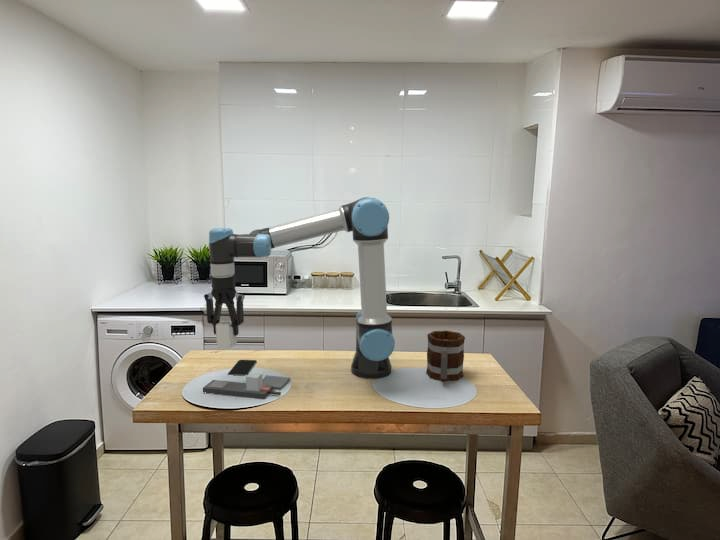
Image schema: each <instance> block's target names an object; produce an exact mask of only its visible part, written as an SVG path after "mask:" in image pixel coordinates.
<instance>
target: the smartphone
mask: <svg viewBox="0 0 720 540" xmlns="http://www.w3.org/2000/svg"><path fill="white" fill-rule="evenodd" d="M257 363H258V361H257V359H256V360H255V359H239V360H237V362H236V363H235V364H234V365H233V367H232V368H230V370H229V372H228V373H227V375H228V376H229V375H233V376H234V377H235V376H240V377H246V375H247V376H248V375H249V374H250V373H251V372H252V370H253V369H254V367H255V366H256V365H257ZM249 372H250V373H249ZM233 376H232V377H233Z"/></svg>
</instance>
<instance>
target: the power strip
mask: <svg viewBox="0 0 720 540" xmlns="http://www.w3.org/2000/svg"><path fill="white" fill-rule="evenodd" d="M203 392H206V393H205V394H209V393H214V394H213V395H218V394H221V395H220V396H229V397H238V398H239V397H240V398H249V399H259V400H265V399H266V398H268V397H269V395H277V396H281V394H282V392H281V391H276V390H273V386H271V385H263V386H262V387H261V388H260V389H259V390H258V391H255V390H247V389H246V382H241V381H231V380H230V381H228V380H217V379H213V380H211V381H210V382H208V383H207V384H206V385H204V386H203V387H202V393H203Z"/></svg>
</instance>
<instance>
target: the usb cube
mask: <svg viewBox="0 0 720 540" xmlns="http://www.w3.org/2000/svg"><path fill="white" fill-rule="evenodd" d="M263 378H264V377H263V373H262V372H253V371H250V373H249V374H248V375H247V376H245V383H246V389H247V390H255V391H258V390H259V389H260V388H261V387H262V386H263Z"/></svg>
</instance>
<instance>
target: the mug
mask: <svg viewBox="0 0 720 540" xmlns="http://www.w3.org/2000/svg"><path fill="white" fill-rule="evenodd" d="M465 339H466V337H465V335H463V334H462V333H461V332H457V331H452V330H433V331H431V332H430V333H428V334H427V351H426V360H427V363H426V371H425V372H426V373H425V374H426V375H427V376H428V378H429V379H430V380H435V381H439V382H442V383H443V382H444V383H446V382H458V381H459V380H460V379H462V378H463V377H464V372H463V371H464V361H465V352H464V351H465V350H464V347H465V341H466V340H465Z"/></svg>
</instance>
